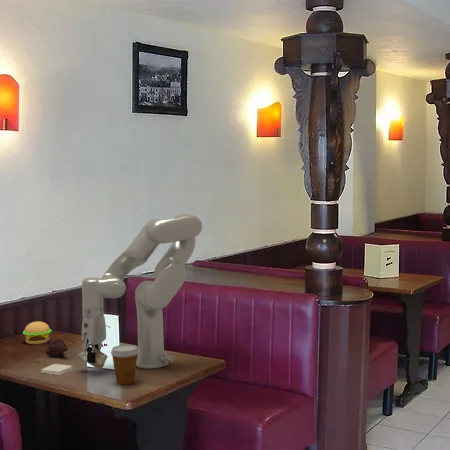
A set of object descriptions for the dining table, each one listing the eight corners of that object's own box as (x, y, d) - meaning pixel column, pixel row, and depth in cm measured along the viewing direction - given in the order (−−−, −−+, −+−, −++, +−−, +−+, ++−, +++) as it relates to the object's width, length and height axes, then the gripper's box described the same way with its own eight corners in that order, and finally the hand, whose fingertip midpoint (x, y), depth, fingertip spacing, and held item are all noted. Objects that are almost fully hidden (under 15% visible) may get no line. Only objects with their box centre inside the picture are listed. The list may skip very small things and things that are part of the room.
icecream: (76, 341, 281) (56, 338, 291) (60, 339, 276) (40, 337, 286) (74, 359, 280) (54, 355, 290) (58, 358, 275) (38, 354, 285)
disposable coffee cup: (134, 386, 243) (133, 352, 241) (108, 385, 244) (106, 351, 243) (142, 378, 252) (141, 344, 251) (117, 377, 254) (115, 344, 252)
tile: (72, 365, 265) (54, 363, 268) (59, 371, 257) (41, 369, 260) (72, 370, 265) (54, 368, 268) (59, 376, 257) (41, 374, 260)
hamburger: (51, 344, 303) (51, 324, 302) (22, 346, 300) (21, 326, 299) (52, 337, 314) (51, 318, 313) (23, 339, 311) (22, 320, 311)
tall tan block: (103, 367, 261) (108, 355, 260) (97, 370, 258) (102, 358, 257) (82, 353, 264) (87, 341, 263) (76, 355, 260) (81, 344, 259)
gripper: (90, 317, 250) (91, 368, 251) (113, 308, 265) (113, 357, 267) (71, 315, 253) (72, 366, 254) (95, 307, 268) (96, 355, 269)
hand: (93, 361), depth 260 cm, fingers closed on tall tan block, 2 cm apart
